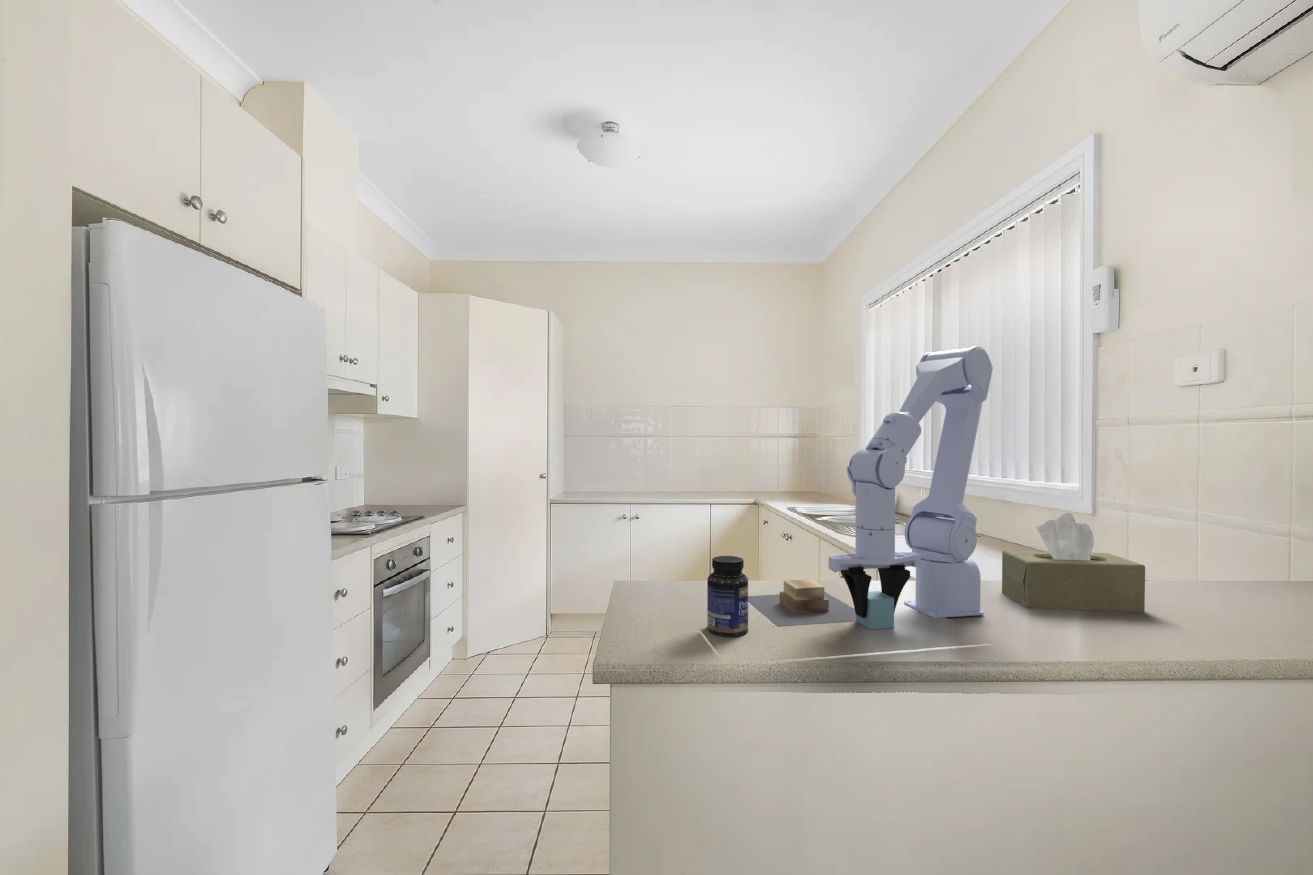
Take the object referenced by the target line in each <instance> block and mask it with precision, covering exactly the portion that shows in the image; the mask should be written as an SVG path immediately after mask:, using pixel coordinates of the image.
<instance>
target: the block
mask: <svg viewBox="0 0 1313 875" xmlns="http://www.w3.org/2000/svg"><path fill="white" fill-rule="evenodd" d="M855 622H857V623H859V624H861V626H863V627H865V628H866V629H868V630H881V629H882V630H883V629H892V628H893V629H894V628H895V612H894V598H893V597H891V596H889V595H886V594H884V593H882V591H881V590H876V591H875V590H874V591H873V590H871V591H868V610H867V617H866V618H861V617H860V616H858V615H856V621H855Z"/></svg>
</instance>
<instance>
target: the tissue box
mask: <svg viewBox="0 0 1313 875" xmlns="http://www.w3.org/2000/svg"><path fill="white" fill-rule="evenodd" d="M1035 527H1036V529H1037V532H1038V533H1039V535H1040V537H1041V540H1042V541H1043V544H1044V546H1045V548H1046V549H1047V551H1041V550H1040V551H1038V550H1035V551H1033V550H1006V549H1005V550H1002V554H1001V558H1002V559H1001V560H1002V561H1001V563H1002V564H1001V567H1002V568H1001V571H1002V572H1001V593H1002V594H1004V595H1006V596H1007V597H1009V598H1010V599H1012V600H1014V601H1015V602H1017V603H1018V604H1020V605H1022V606H1024V607H1025V608H1027V609H1039V610H1040V609H1041V610H1042V609H1043V610H1066V611H1069V610H1070V611H1091V612H1092V611H1093V612H1118V613H1123V612H1124V613H1145V612H1146V611H1145V610H1146V605H1145V603H1146V566H1145V565H1144V564H1142V563H1139V562H1136V561H1132V560H1129V559H1127V558H1124V557H1120V556H1117V555H1115V554H1112V553H1108V552H1092V550H1093V547H1094V535H1093V530H1092V529H1091V527H1090V525H1089V524H1087V523H1078V522H1076V520H1075V517H1074V515H1073V514H1072V513H1070V512H1066V513H1063V514H1061V515H1060V516H1058V517H1057V518H1054V519H1049V520H1046V521H1045V522H1044V523H1043V524H1040V525H1037V526H1035Z"/></svg>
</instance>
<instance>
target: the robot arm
mask: <svg viewBox="0 0 1313 875" xmlns="http://www.w3.org/2000/svg"><path fill="white" fill-rule="evenodd" d="M993 368H994V367H993V365H992V362H991V358H990V356H989V354H988V353H987V351H986V350H985V349H984V348H983V347H982V346H979V345H975V346H971V347H969V348H961V349H960V348H959V349H952V350H951V349H949V350H945V351H944V350H941V351H928V352H925V353H924V354H923V355H922V356H921V358H920V360H919V362H918V363H917V364H916V366H915V372H916V374H915V375H916V379H915V381H914V384H913V385H912V387H911V389H910V390H909V392H908V394H907V396H906V397H905V400H904V402H903V404H902V405H901V408H900V409H899V411H896V412H891V413H889V414H888V415H885V417H884V418H883V420H882V423H881V424H880V426H879V428H878V429H877V430H876V432H875V433H874V435H873V437H872V438H871V439H870V441H869V442H868V444H867V445H866V446H865V448H863V449H859V450H858V451H856V452H855V453H854V454H853V455H851V458H850V459H849V464H848V466H846V473H847V477H848V479H849V480H850V483H851V485H852V486H851V488H852V493H853V495H854V496H855V547H854V548H855V549H854V550H855V552H852V553H845V554H839V555H831V556H828V569H829V570H830V571H832V572H840V574H841V576H842V577H843V579H844V581H845V583H846V585H847V588H848V590H849V593H850V596H851V600H852V603H853V608H854V609H855V613H856V615H858V616H860V617H861V618H866V617H867V610H868V592H870V591H869V589H870V585H871V581H872V576H871V575H870V574H866V573H867V572H866V571H865V570H867V569H869V570H870V569H877V571H878V574H879V581H880V589H881V590H880V592H882V593H884V594H886V595H889V596H891V597H893V598H894V613H895V612H896V609H897V608H896V607H897V604H898V600H899V599H900V596H901V593H902V592H903V589H904V587H905V585H906V584H907V583H908V581H909V580H910V578H911V571H910V570H909V569H907V568H906V567H913V568H915V600H908V601H907V600H905V601H904V602H903V603H904V605H905V606H907V607H909V608H911V609H914V610H915V611H918V612H920V613H922V614H924V615H926V616H928V617H930V618H934V619H940V618H941V619H942V618H955V617H956V618H958V617H972V616H983V615H984V614H985V613H984V611H983V610H981V572H980V568H979V566H978V564H977V563H976V561H974V559H972V558H971V556H972V554H973V553H974V551H976V548H977V540H978V539H977V538H978V537H977V531H976V530H977V528H976V527H977V516H975V514H974V512H972V511H971V510H970V509H969V508H968V507H967V506H966V504H964V503H963V502H964V498H965V492H966V488H967V482H968V478H969V474H970V470H971V469H970V468H971V463H972V462H971V461H972V459H973V458H972V457H973V454H974V453H973V452H974V450H975V449H974V448H975V442H976V438H977V432H978V428H979V422H980V418H981V413H982V407H983V403H984V401H986V400H987V399H988V394H989V390H990V384H991V380H992V379H991V378H992V374H993ZM935 403H939V404H941V405H943V406H944V408H945V414H944V420H943V424H942V429H941V433H940V439H939V444H938V449H937V454H936V458H935V463H934V467H933V473H932V477H931V482H930V487H929V492H928V496H926V497H925V498H924V499H922V500H921V501H919V502H918V503H916V504H915V505H914V506H913V509H912V512H911V516H910V517H909V519H908V521H907V522H906V524H905V527H904V539H905V543H906V545H907V546H908V548H909V549H911V552H908V551H907V552H902V551H901V552H900V551H899V552H897V551H896V487H897V486H898V485H899V484H900V483H901V482H902V481H903V480H904V477H905V472H906V464H907V462H908V461H907V460H908V457H907V456H908V454H909V453H910V451H911V450H912V448H914V445H915V444H916V442H917V441H918V439H919V438H920V436H921V434H922V427H921V425H920V422H921V421H922V419H923V418H924V417H925V416H926V414H927V413H928V411H929V410H930V409H931V408H932V407H933V405H934V404H935Z"/></svg>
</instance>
